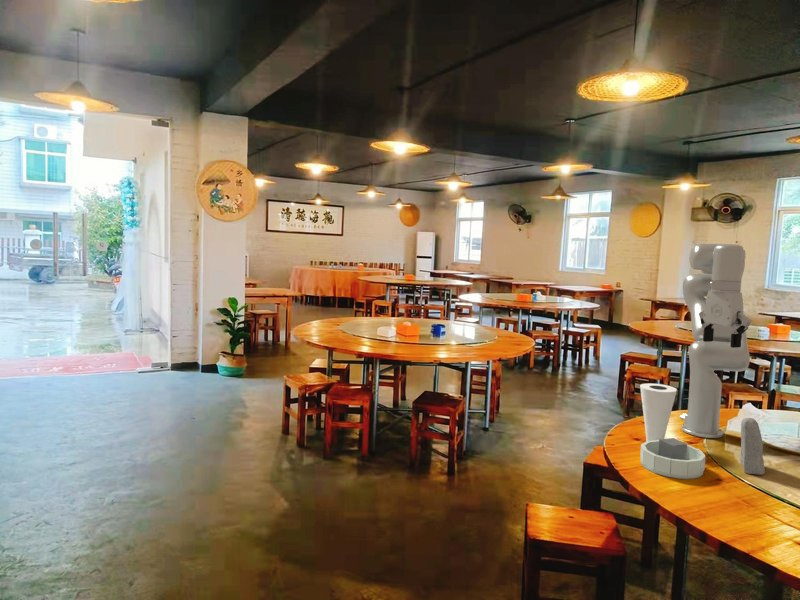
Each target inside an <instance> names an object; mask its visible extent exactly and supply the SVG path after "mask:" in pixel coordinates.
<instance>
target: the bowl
mask: <svg viewBox="0 0 800 600" xmlns="http://www.w3.org/2000/svg"><path fill="white" fill-rule="evenodd" d="M658 451H659V440H652V441H644V442H643V443H641V444H640V454H639V458H640V464H641V466H642V467H643V468H644V469H646V470H648V471H649V472H652V473H654V474H656V475H660V476H663V477H667V478H671V479H677V480H678V479H680V480H694V479H695V480H696V479H699V478H701V477H702V476H704V471H705V468H706V455H705V453H704V452H703V451H702V450H701V449H699V448H696V447H694V446H692V445H689V444H687V451H686V460H678V459H670V458H666V457H663V456H659V455H658Z"/></svg>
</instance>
